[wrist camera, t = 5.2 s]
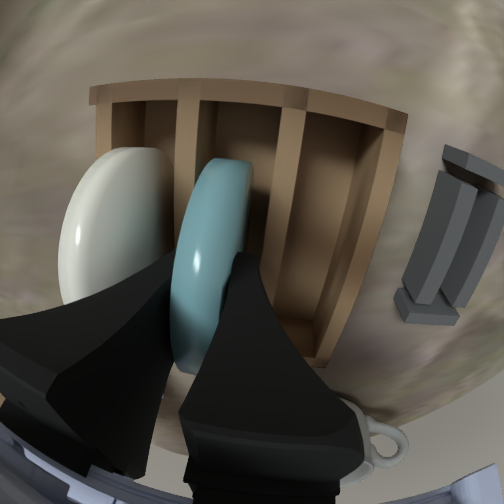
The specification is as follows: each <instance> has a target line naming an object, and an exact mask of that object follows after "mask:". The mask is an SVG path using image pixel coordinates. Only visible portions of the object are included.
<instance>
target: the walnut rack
mask: <svg viewBox="0 0 504 504" xmlns="http://www.w3.org/2000/svg"><path fill="white" fill-rule="evenodd" d="M89 105H96V160H98V159H99V158H100V157H101V156H103V155H104V154H105V153H107V152H109V151H111V150H113V149H116V148H120V147H144V148H157V149H159V150H161V151H163V152H164V153H165V154H166V155H167V156H168V158H169V159H170V161H171V163H172V165H173V168H174V242H175V249H176V248H177V244H178V240H179V235H180V231H181V227H182V223H183V219H184V216H185V212H186V209H187V206H188V203H189V200H190V197H191V195H192V192H193V189H194V187H195V185H196V182H197V180H198V178H199V176H200V174H201V173H202V171H203V169H204V168H205V166H206V165H207V164H208V162H210V161H211V160H212V159H214V158H223V159H233V160H241V161H249V162H252V163H253V167H254V187H253V200H252V211H251V220H250V229H249V237H248V244H247V252H246V253H250V254H256V256H257V257H258V266H259V271H260V275H261V279H262V282H263V285H264V288H265V290H266V293H267V296H268V298H269V301H270V303H271V305H272V307H273V310H274V312H275V314H276V316H277V318H278V320H279V321H280V323H281V325H282V327H283V328H284V330H285V332H286V334H287V335H288V337H289V338H290V340H291V341H292V343H293V344H294V346H295V347H296V349H297V350H298V351H299V353H300V354H301V355H302V357H303V358H304V359H305V360H306V362H307V363H308V364H309V366H310V367H317V368H326V365H327V363H328V361H329V359H330V357H331V355H332V353H333V351H334V349H335V347H336V344H337V342H338V340H339V338H340V336H341V333H342V331H343V329H344V326H345V324H346V322H347V319H348V317H349V315H350V312H351V310H352V307H353V305H354V303H355V300H356V298H357V295H358V292H359V290H360V287H361V285H362V282H363V279H364V277H365V274H366V271H367V268H368V266H369V263H370V260H371V257H372V254H373V251H374V248H375V245H376V242H377V239H378V236H379V233H380V230H381V226H382V223H383V220H384V216H385V213H386V210H387V206H388V203H389V199H390V195H391V191H392V188H393V184H394V180H395V176H396V172H397V167H398V163H399V159H400V154H401V150H402V145H403V140H404V135H405V129H406V124H407V118H408V114H406V113H403V112H400V111H397V110H394V109H391V108H388V107H385V106H381V105H378V104H374V103H371V102H367V101H363V100H360V99H356V98H352V97H348V96H343V95H339V94H334V93H330V92H325V91H320V90H314V89H309V88H303V87H297V86H290V85H283V84H276V83H267V82H258V81H247V80H232V79H208V78H179V79H155V80H141V81H130V82H121V83H113V84H105V85H99V86H92V87H90V93H89Z"/></svg>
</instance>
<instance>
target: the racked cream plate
mask: <svg viewBox="0 0 504 504" xmlns="http://www.w3.org/2000/svg"><path fill="white" fill-rule="evenodd" d="M173 250H175V242H174V168H173V165H172V163H171V161H170V159H169V158H168V156H167V155H166V154H165V153H164V152H163V151H161V150H159V149H157V148H144V147H120V148H116V149H113V150H111V151H109V152H107V153H105V154H104V155H103V156H101V157H100V158H99V159H98V160H97V161H96V162H95V163H94V164H93V165H92V166H91V167H90V168H89V169H88V171H87V172H86V173H85V175H84V176H83V177H82V179H81V181H80V182H79V184H78V186H77V188H76V190H75V192H74V194H73V196H72V198H71V201H70V203H69V206H68V208H67V211H66V215H65V218H64V222H63V226H62V231H61V237H60V243H59V255H58V272H59V284H60V290H61V295H62V299H63V303H64V305H66V304H68V303H71V302H74V301H77V300H79V299H82V298H85V297H88V296H90V295H93V294H95V293H97V292H100V291H102V290H104V289H106V288H109V287H111V286H113V285H115V284H117V283H119V282H121V281H123V280H124V279H126V278H128V277H130V276H131V275H133V274H135V273H137V272H139V271H140V270H142V269H144V268H146V267H147V266H149V265H151V264H152V263H154V262H155V261H157V260H159V259H160V258H162V257H163V256H165V255H167V254H168V253H170V252H171V251H173Z"/></svg>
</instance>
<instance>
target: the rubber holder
mask: <svg viewBox="0 0 504 504" xmlns="http://www.w3.org/2000/svg"><path fill="white" fill-rule="evenodd" d="M442 158H443V159H445V160H447V161H450V162H452V163H454V164H456V165H458V166H460V167H462V168H464V169H466V170H469V171H471V172H473V173H476V174H478V175H480V176H482V177H485V178H487V179H489V180H491V181H493V182H495V183H497V184H499V185H501V186H504V170H502V169H500V168H498V167H496V166H494V165H492V164H490V163H488V162H486V161H484V160H482V159H480V158H478V157H476V156H474V155H472V154H470V153H467V152H465V151H462V150H459V149H457V148H454V147H451V146H448V145H446V144H445V147H444V151H443V156H442ZM503 225H504V199H503V198H501V197H500V196H498V195H496V194H495V193H493V192H492V191H490V190H488V189H486V188H484V187H481V186H479V185H477V184H476V185H475V187H473V186H472V185H470V184H468V183H467V182H465V181H463V180H461V179H460V178H458V177H456V176H454V175H451V174H449V173H446V172H443V171H440V170H439V172H438V176H437V180H436V184H435V187H434V191H433V194H432V198H431V201H430V204H429V208H428V211H427V214H426V217H425V220H424V223H423V226H422V229H421V232H420V234H419V237H418V240H417V243H416V245H415V248H414V251H413V253H412V256H411V258H410V261H409V263H408V266H407V268H406V271H405V273H404V275H403V278H402V280H403V281H404V283H405V285H406V287H407V289H403V288H398V289H397V291H396V294H395V296H394V300H395V302H396V305H397V307H398V309H399V311H400V314H401V316H402V319H403V321H404V323H413V324H430V325H451V326H454V325H455V323H456V322H457V320H458V319H459V317H460V316H459V314H458V312H457V311H456V309H455V307H463V308H465V307H466V305H467V303H468V301H469V300H470V298H471V296H472V294H473V292H474V290H475V288H476V286H477V285H478V283H479V281H480V279H481V277H482V275H483V272H484V270H485V268H486V266H487V264H488V262H489V260H490V257H491V255H492V253H493V250H494V248H495V246H496V243H497V241H498V238H499V236H500V233H501V231H502V228H503ZM439 288H441V289H442V291H443V293H437V292H438V290H439Z"/></svg>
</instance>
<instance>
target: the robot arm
mask: <svg viewBox="0 0 504 504" xmlns="http://www.w3.org/2000/svg"><path fill="white" fill-rule="evenodd" d="M176 250H177V248H176V249H175V250H173V251H171V252H170V253H168V254H167V255H165V256H163V257H162V258H160V259H159V260H157V261H155V262H154V263H152V264H151V265H149V266H147V267H146V268H144V269H142V270H140V271H139V272H137V273H135V274H133V275H131V276H130V277H128V278H126V279H124V280H123V281H121V282H119V283H117V284H115V285H113V286H111V287H109V288H106V289H104V290H102V291H100V292H97V293H95V294H93V295H90V296H88V297H85V298H82V299H79V300H77V301H74V302H71V303H68V304H66V305H63V306H59V307H56V308H52V309H49V310H45V311H41V312H37V313H33V314H28V315H22V316H17V317H11V318H5V319H0V393H1V394H2V395H3V396H4V397H5V398H6V399H5V401H4V402H3V404H2V406H1V407H0V504H335V496H337V495H339V493H340V479H342V478H344V477H345V476H347V475H348V474H350V473H352V472H353V471H355V470H356V469H357V468H358V467H359V466H360V465H361V464H362V463H363V462H364V458H365V452H364V442H363V437H362V433H361V430H360V426H359V422H358V419H357V416H356V413H355V412H354V411H353V410H352V409H351V408H350V407H349V406H348V405H347V404H346V403H345V402H343V401H342V400H341V399H340V398H339V397H338V396H337V395H336V394H335V393H334V392H333V391H332V390H331V389H330V388H329V387H328V386H327V385H326V384H325V383H324V382H323V381H322V380H321V379H320V378H319V376H318V375H317V374H316V373H315V372H314V371H313V369H312V368H311V367H310V366H309V364H308V363H307V362H306V360H305V359H304V358H303V357H302V355H301V354H300V353H299V351H298V350H297V349H296V347H295V346H294V344H293V343H292V341H291V340H290V338H289V337H288V335H287V334H286V332H285V330H284V328H283V327H282V325H281V323H280V321H279V320H278V318H277V316H276V314H275V312H274V310H273V307H272V305H271V303H270V301H269V298H268V296H267V293H266V290H265V288H264V285H263V282H262V279H261V275H260V271H259V266H258V257H257V256H256V254H250V253H243V252H237V253H236V255H235V257H234V259H233V263H232V269H231V275H230V281H229V287H228V293H227V298H226V302H225V306H224V309H223V312H222V315H221V317H220V320H219V323H218V326H217V328H216V331H215V333H214V336H213V338H212V341H211V343H210V346H209V348H208V351H207V353H206V355H205V358H204V360H203V362H202V364H201V367H200V369H199V371H198V373H197V376H196V378H195V380H194V382H193V384H192V386H191V388H190V390H189V392H188V394H187V396H186V398H185V400H184V402H183V404H182V406H181V408H180V410H179V411H178V414H179V418H180V422H181V426H182V430H183V434H184V437H185V441H186V445H187V448H188V452H189V458H188V462H187V466H186V470H185V474H184V478H183V482H184V483H188V484H189V486H190V488H191V490H192V492H193V496H192V497H193V499H191V498H186V497H182V496H178V495H174V494H171V493H167V492H164V491H160V490H157V489H153V488H150V487H147V486H144V485H141V484H138V483H136V482H134V480H135V479H139V478H141V477H143V476H145V472H146V466H147V460H148V455H149V449H150V444H151V439H152V435H153V431H154V426H155V422H156V418H157V414H158V410H159V406H160V403H161V399H163V397H164V394H163V392H164V389H165V385H166V382H167V379H168V376H169V373H170V370H171V368H172V365H173V363H174V357H173V353H172V347H171V339H170V295H171V283H172V275H173V267H174V261H175V255H176ZM380 504H503V497H502V490H501V485H500V479H499V474H498V470H497V465H496V463H493V464H491V465H489V466H486V467H484V468H482V469H480V470H477V471H475V472H473V473H470V474H468V475H467V476H464V477H463V478H460V479H459V480H457V481H455V482H453V483H452V484H451V485H448V486H446V487H442V488H440V489H437V490H434V491H430V492H427V493H423V494H420V495H416V496H412V497H408V498H404V499H399V500H395V501H390V502H385V503H380Z"/></svg>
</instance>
